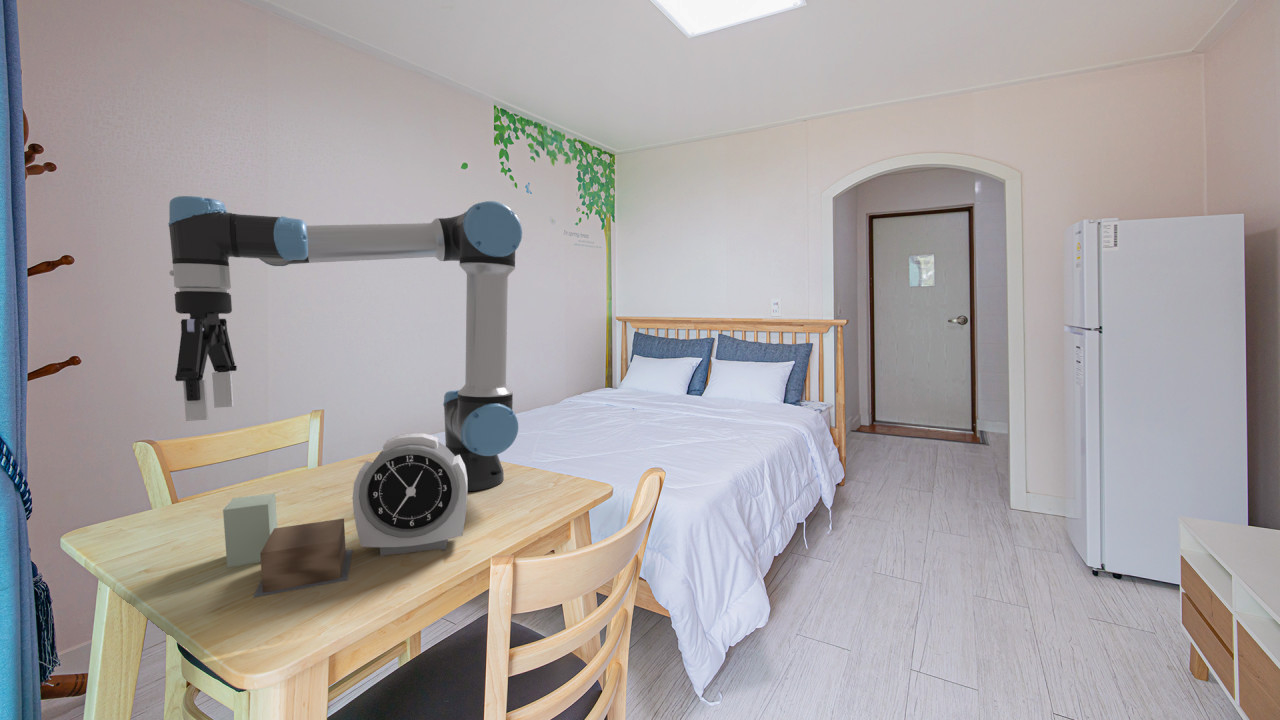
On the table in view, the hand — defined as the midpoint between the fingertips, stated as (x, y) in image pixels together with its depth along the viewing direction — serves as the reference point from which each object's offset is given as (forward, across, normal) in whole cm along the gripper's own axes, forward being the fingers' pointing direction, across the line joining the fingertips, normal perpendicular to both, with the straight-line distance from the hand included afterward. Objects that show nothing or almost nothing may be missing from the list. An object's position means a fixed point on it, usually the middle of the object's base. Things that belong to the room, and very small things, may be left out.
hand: (211, 413), depth 93 cm
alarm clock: (+24, +15, +32) cm, 43 cm away
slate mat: (+24, +18, +16) cm, 34 cm away
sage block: (+24, +8, +7) cm, 26 cm away
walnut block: (+24, +18, +16) cm, 34 cm away
